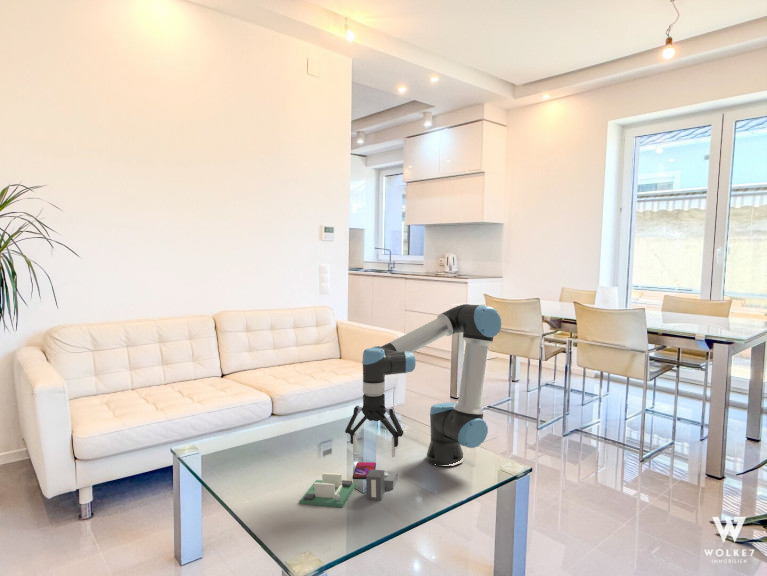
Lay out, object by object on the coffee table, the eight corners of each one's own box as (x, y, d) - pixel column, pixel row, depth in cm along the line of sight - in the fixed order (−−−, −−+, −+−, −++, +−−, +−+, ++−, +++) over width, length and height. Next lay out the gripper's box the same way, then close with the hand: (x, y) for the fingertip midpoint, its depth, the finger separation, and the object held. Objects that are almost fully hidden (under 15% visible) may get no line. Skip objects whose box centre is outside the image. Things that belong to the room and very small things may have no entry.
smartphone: (376, 462, 196) (373, 477, 181) (376, 464, 196) (373, 479, 181) (357, 462, 197) (352, 477, 182) (357, 464, 197) (352, 479, 182)
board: (355, 486, 175) (355, 470, 175) (342, 507, 159) (342, 490, 159) (316, 483, 178) (315, 468, 178) (299, 503, 163) (299, 487, 162)
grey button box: (397, 479, 180) (397, 470, 180) (393, 489, 172) (393, 479, 172) (376, 478, 182) (376, 468, 182) (371, 487, 174) (371, 477, 174)
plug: (384, 492, 170) (384, 470, 170) (380, 500, 164) (380, 477, 164) (370, 491, 171) (370, 469, 171) (366, 499, 165) (366, 476, 165)
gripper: (411, 392, 167) (411, 453, 168) (342, 389, 172) (342, 448, 173) (407, 397, 160) (408, 461, 160) (335, 394, 165) (336, 455, 166)
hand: (374, 454), depth 167 cm, fingers open, 13 cm apart
